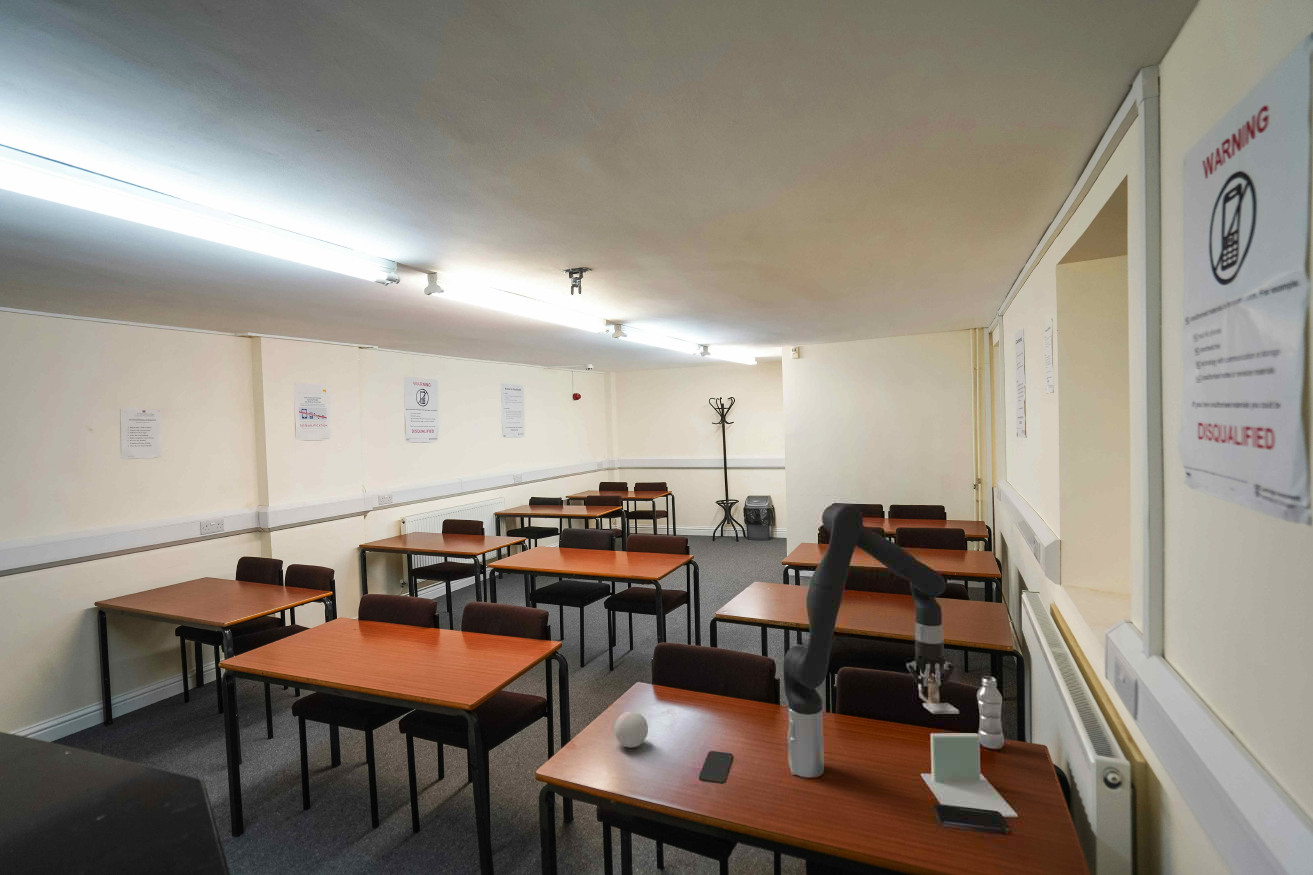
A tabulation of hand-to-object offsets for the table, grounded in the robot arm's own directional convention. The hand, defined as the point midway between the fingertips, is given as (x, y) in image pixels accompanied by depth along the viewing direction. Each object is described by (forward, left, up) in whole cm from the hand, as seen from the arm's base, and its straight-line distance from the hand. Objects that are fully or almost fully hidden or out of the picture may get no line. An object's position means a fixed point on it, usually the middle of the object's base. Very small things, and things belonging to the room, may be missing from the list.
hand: (930, 697), depth 176 cm
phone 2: (-4, -31, -16) cm, 36 cm away
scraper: (0, -3, -1) cm, 4 cm away
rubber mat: (0, -21, -16) cm, 27 cm away
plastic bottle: (+18, +3, -16) cm, 24 cm away
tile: (0, -15, -15) cm, 22 cm away
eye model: (-88, +4, -16) cm, 89 cm away
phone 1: (-63, -8, -16) cm, 66 cm away
